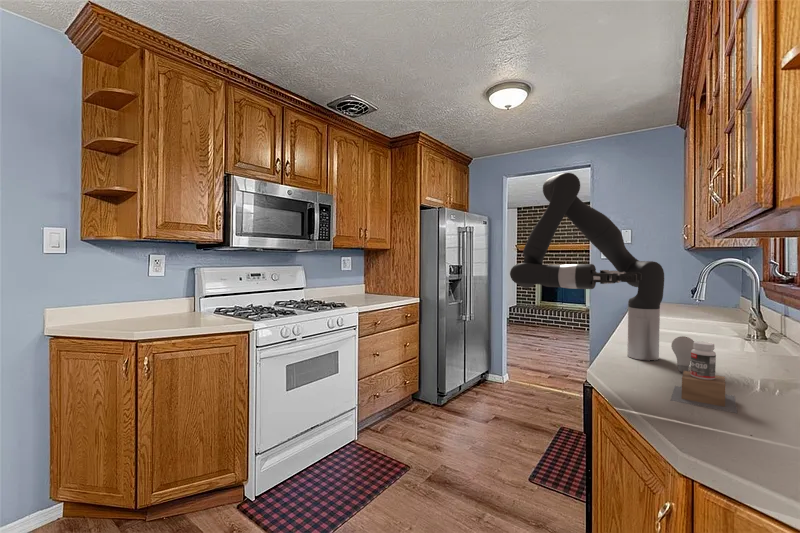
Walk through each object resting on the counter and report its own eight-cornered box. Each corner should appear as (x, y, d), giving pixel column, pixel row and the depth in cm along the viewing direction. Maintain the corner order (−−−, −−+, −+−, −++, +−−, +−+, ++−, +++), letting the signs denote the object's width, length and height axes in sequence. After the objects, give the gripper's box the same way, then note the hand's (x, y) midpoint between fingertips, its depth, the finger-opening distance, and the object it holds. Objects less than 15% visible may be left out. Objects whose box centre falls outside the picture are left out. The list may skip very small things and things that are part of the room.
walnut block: (683, 390, 100) (683, 370, 99) (724, 397, 95) (724, 376, 94) (681, 398, 93) (681, 377, 93) (725, 406, 88) (725, 384, 88)
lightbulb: (665, 371, 118) (666, 335, 117) (680, 369, 120) (681, 334, 119) (686, 377, 112) (687, 339, 112) (701, 375, 114) (702, 337, 114)
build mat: (674, 387, 103) (674, 385, 103) (734, 397, 96) (734, 395, 96) (670, 401, 92) (670, 400, 92) (737, 414, 85) (737, 413, 85)
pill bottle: (686, 375, 95) (686, 341, 95) (697, 373, 97) (698, 340, 97) (707, 381, 91) (708, 345, 91) (719, 379, 93) (720, 343, 92)
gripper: (570, 264, 113) (635, 264, 103) (582, 263, 124) (642, 263, 114) (570, 290, 113) (635, 292, 103) (583, 287, 124) (642, 288, 114)
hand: (639, 277), depth 109 cm, fingers open, 8 cm apart
